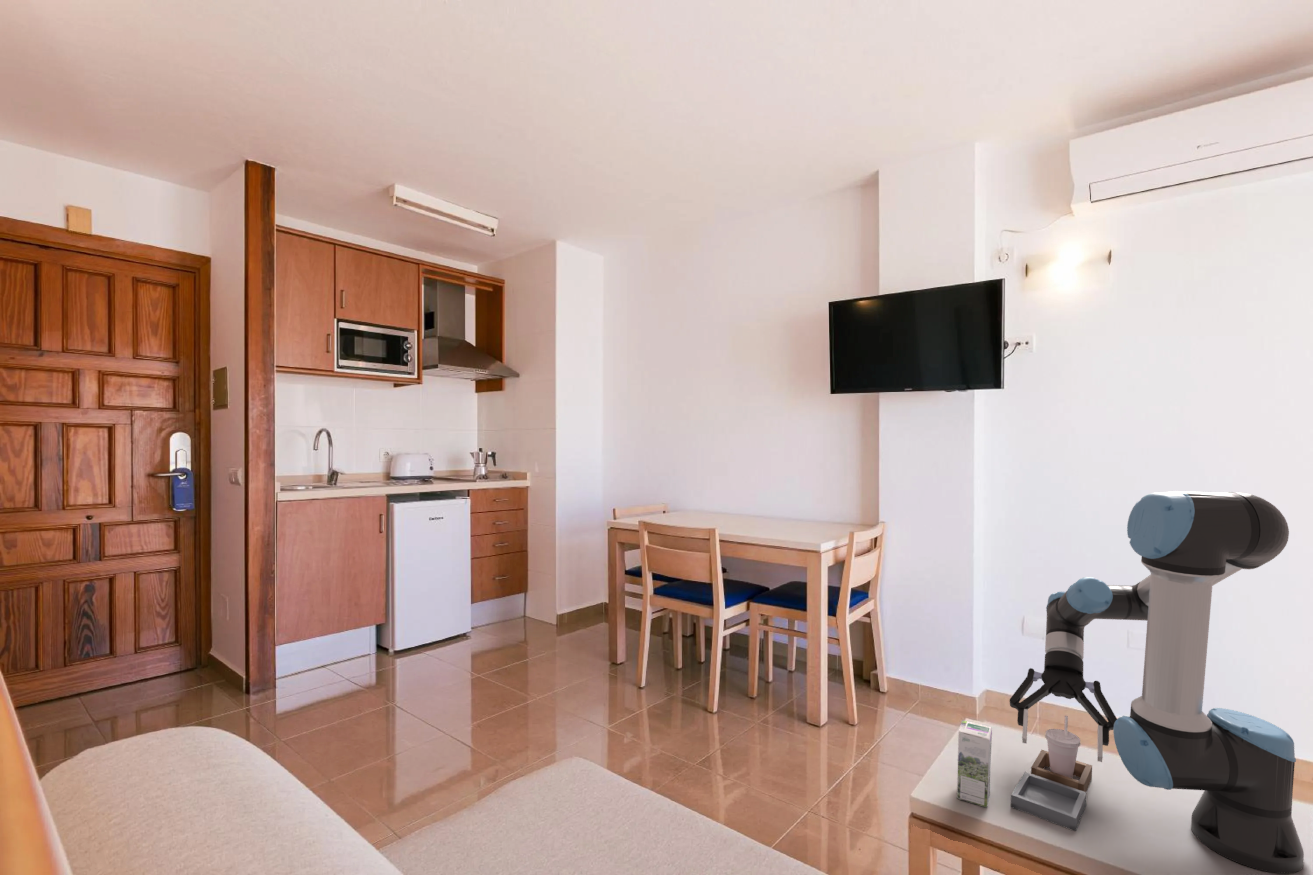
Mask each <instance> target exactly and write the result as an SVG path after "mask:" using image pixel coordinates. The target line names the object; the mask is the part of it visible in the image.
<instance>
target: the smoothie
mask: <svg viewBox="0 0 1313 875" xmlns="http://www.w3.org/2000/svg"><path fill="white" fill-rule="evenodd" d="M1068 723H1069V717H1068V715H1064V728H1063V729H1061V728H1050V729H1047V730H1045V735H1044V737H1045V739H1046V740H1047V741H1046V742H1047V751H1048V752H1049V761H1050V768H1049V771H1051V772H1054V773H1057V774H1060V775H1063V776H1066V777H1069V778H1072V779H1074V778H1073V777H1074V775H1073V773H1074V768H1075V762H1076V761H1077V756H1078V752H1079V751H1078V750H1079V748H1080V747H1081V738H1080V737H1079V736H1078V735H1076V734H1075V733H1073V732H1071V731H1068V729H1069V728H1068V726H1069V725H1068Z"/></svg>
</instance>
